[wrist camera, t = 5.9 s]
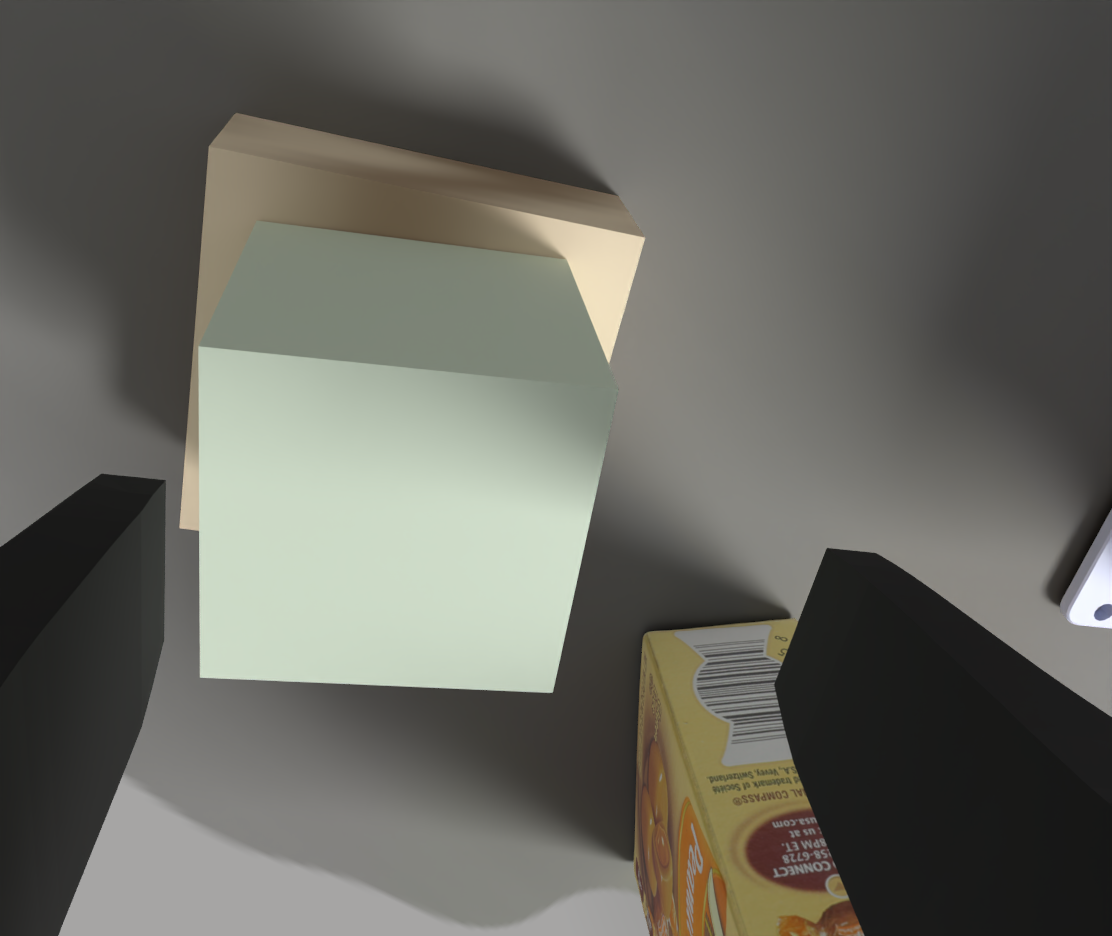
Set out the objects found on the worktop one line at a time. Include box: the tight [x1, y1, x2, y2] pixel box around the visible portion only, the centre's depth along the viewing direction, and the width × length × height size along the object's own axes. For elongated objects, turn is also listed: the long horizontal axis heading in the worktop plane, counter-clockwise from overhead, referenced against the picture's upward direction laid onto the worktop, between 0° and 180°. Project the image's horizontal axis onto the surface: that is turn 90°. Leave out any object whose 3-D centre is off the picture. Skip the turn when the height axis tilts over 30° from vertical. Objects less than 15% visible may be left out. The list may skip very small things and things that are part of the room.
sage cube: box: [198, 221, 619, 693], centre depth 15 cm, size 5×5×5 cm
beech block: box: [179, 113, 645, 531], centre depth 19 cm, size 7×7×3 cm
